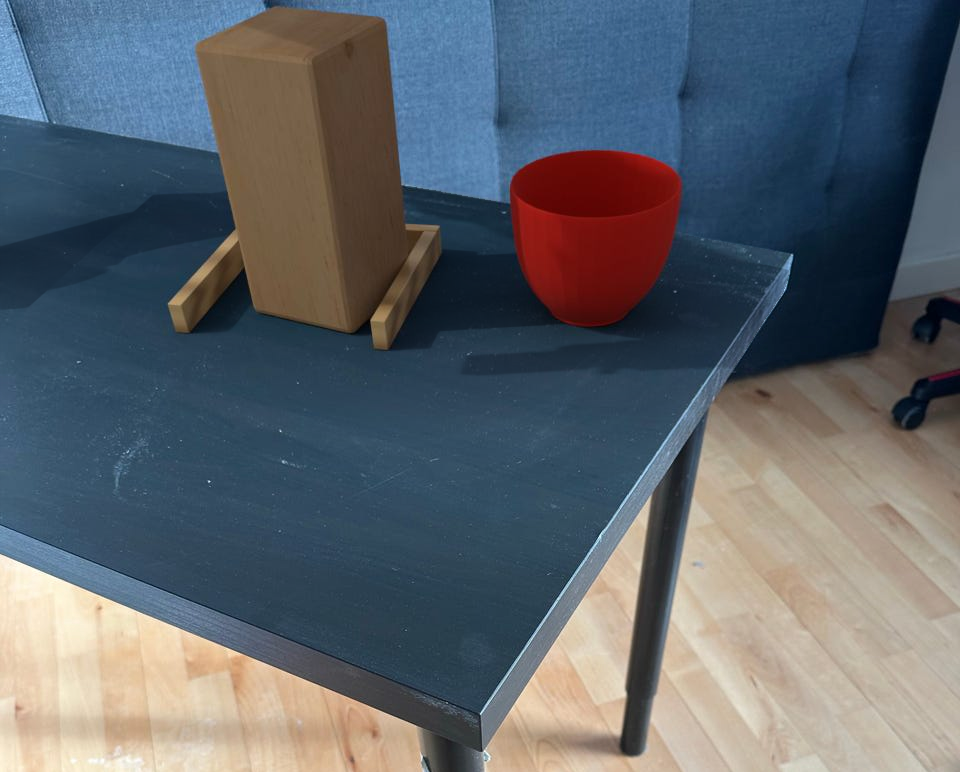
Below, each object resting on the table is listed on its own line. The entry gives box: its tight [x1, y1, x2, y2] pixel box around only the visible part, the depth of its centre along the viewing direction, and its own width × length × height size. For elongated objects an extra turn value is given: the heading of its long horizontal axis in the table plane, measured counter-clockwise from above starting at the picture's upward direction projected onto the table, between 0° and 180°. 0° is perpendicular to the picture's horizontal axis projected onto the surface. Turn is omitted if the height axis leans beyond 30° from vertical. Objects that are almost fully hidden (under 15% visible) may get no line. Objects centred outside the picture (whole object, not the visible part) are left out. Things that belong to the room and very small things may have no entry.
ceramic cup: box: [509, 149, 683, 327], centre depth 75 cm, size 13×17×10 cm
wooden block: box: [194, 5, 408, 334], centre depth 73 cm, size 10×10×20 cm
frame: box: [167, 223, 443, 351], centre depth 80 cm, size 17×18×2 cm
